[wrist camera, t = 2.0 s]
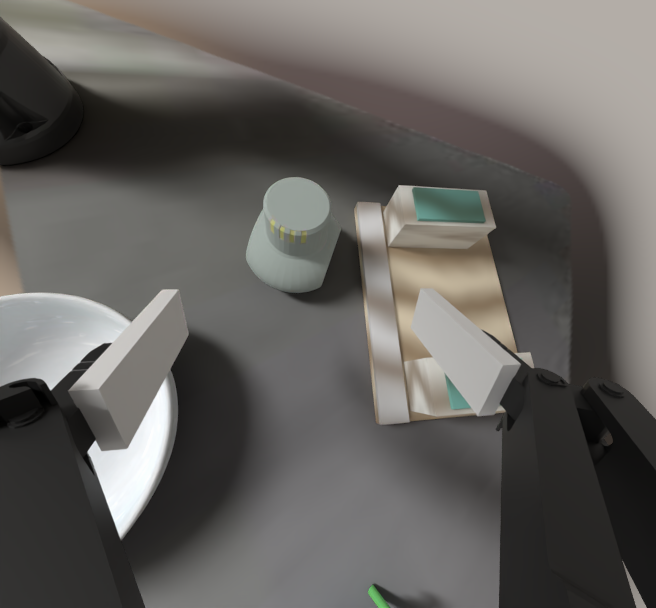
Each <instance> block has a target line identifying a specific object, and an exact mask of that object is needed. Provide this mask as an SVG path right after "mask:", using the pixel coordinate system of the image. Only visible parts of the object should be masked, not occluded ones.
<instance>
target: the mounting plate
mask: <svg viewBox="0 0 656 608" xmlns="http://www.w3.org/2000/svg"><path fill="white" fill-rule="evenodd" d="M354 211H355V221H356V231H357V241H358V250H359V260H360V270H361V280H362V290H363V299H364V309H365V319H366V329H367V339H368V348H369V358H370V368H371V378H372V388H373V397H374V407H375V417H376V423H378V424H380V425H386V424H397V423H408V422H410V421H418V420H429V419H439V418H450V417H461V416H472V415H476V413H475V412H474V411H473V409H472V408H471V407H470V405H469V404H468V403H467V401H466V400H465V399H464V397H463V396H462V395H461V393H460V392H459V391H458V390H457V388H456V387H455V386H454V384H453V383H452V382H451V380H450V379H449V378H448V376H447V375H446V374H445V372H444V371H443V370H442V369H441V367H440V366H439V365H438V363H437V362H436V361H435V359H434V358H433V357H432V355H431V354H430V353H429V351H428V350H427V349H426V347H425V346H424V345H423V344H422V342H421V341H420V340H419V338H418V337H417V336H416V334H415V333H414V332H413V330H412V329H411V324H412V320H413V316H414V312H415V308H416V304H417V300H418V296H419V293H420V289H421V288H433V289H434V290H435V291H436V292H437V293H439V294H440V295H441V296H442V297H443V298H444V299H446V300H447V301H448V302H449V303H450V304H451V305H453V306H454V307H455V308H456V309H457V310H458V311H460V312H461V313H462V314H463V315H464V316H465V317H467V318H468V319H469V320H470V321H471V322H472V323H474V324H475V325H476V326H477V327H478V328H479V329H481V330H484V331H486V332H487V333H489V334H491V335H493V336H494V337H495V338H496V339H498V340H499V341H500V342H501V344H504V345H505V346H506V347H507V348H508V349H510V350H511V351H512V352H513V353H514V354H516V355H517V356H518V357H519V358H520V359H522V360H523V361H524V362H525V363H526V364H528V365H529V366H530V367H531V368H534V365H533V361H532V358H531V354H530V352H528V353H518V352H517V349H516V345H515V341H514V337H513V333H512V329H511V325H510V321H509V318H508V314H507V310H506V306H505V302H504V298H503V294H502V290H501V287H500V283H499V279H498V275H497V271H496V267H495V263H494V260H493V256H492V252H491V248H490V244H489V240H488V236H487V234H488V233H490V232H491V231H492V230H494V229H495V228H496V225H495V221H494V218H493V214H492V210H491V207H490V203H489V199H488V196H487V192H486V191H484V190H468V189H452V188H436V187H420V186H404V185H399V186H398V187H397V189H396V191H395V193H394V194H393V196H392V198H391V200H390V201H389V203H388V205H387V206H380V203H372V202H357V204H356V207H355V209H354ZM504 412H506V410H505V409H504V408H503V407H502V406H501V405H499V407H498V408H497V410H496V412H495V413H504Z"/></svg>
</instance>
